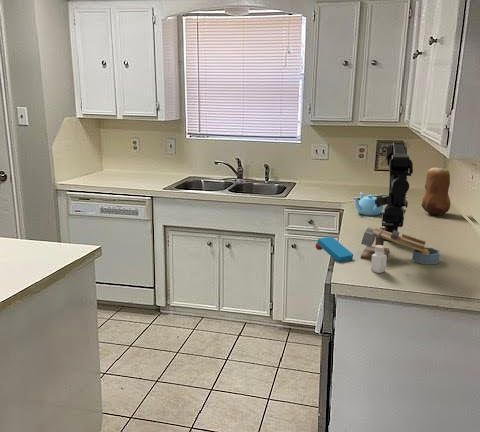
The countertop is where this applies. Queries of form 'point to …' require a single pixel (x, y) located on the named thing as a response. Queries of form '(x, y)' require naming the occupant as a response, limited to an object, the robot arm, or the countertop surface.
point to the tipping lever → (392, 238)
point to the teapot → (367, 205)
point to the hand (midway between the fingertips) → (395, 228)
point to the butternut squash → (437, 191)
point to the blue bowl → (426, 256)
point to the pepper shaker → (378, 260)
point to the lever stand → (371, 250)
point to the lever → (334, 249)
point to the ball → (424, 251)
